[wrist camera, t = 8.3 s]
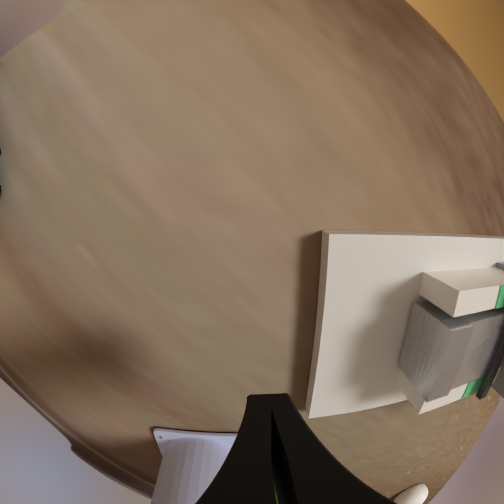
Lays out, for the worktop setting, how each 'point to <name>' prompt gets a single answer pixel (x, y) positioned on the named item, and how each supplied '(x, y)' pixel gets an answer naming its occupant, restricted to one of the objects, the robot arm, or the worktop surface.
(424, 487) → the garlic bulb
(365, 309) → the architectural block model
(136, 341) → the worktop surface
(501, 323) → the grey block with bar
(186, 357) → the worktop surface
